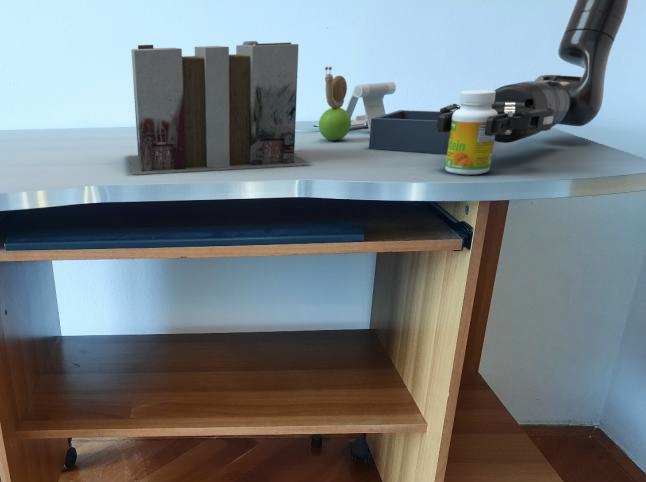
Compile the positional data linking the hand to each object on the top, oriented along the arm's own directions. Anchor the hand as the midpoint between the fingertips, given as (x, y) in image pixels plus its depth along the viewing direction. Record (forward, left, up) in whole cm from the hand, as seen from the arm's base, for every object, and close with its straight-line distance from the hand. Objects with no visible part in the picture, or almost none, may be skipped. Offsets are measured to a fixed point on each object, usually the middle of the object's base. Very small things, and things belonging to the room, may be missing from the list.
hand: (464, 125), depth 79 cm
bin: (+12, -21, -6) cm, 25 cm away
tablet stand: (+27, -34, -6) cm, 44 cm away
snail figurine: (+27, -20, -6) cm, 34 cm away
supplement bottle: (0, -3, -6) cm, 7 cm away
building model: (+35, +5, -6) cm, 35 cm away
